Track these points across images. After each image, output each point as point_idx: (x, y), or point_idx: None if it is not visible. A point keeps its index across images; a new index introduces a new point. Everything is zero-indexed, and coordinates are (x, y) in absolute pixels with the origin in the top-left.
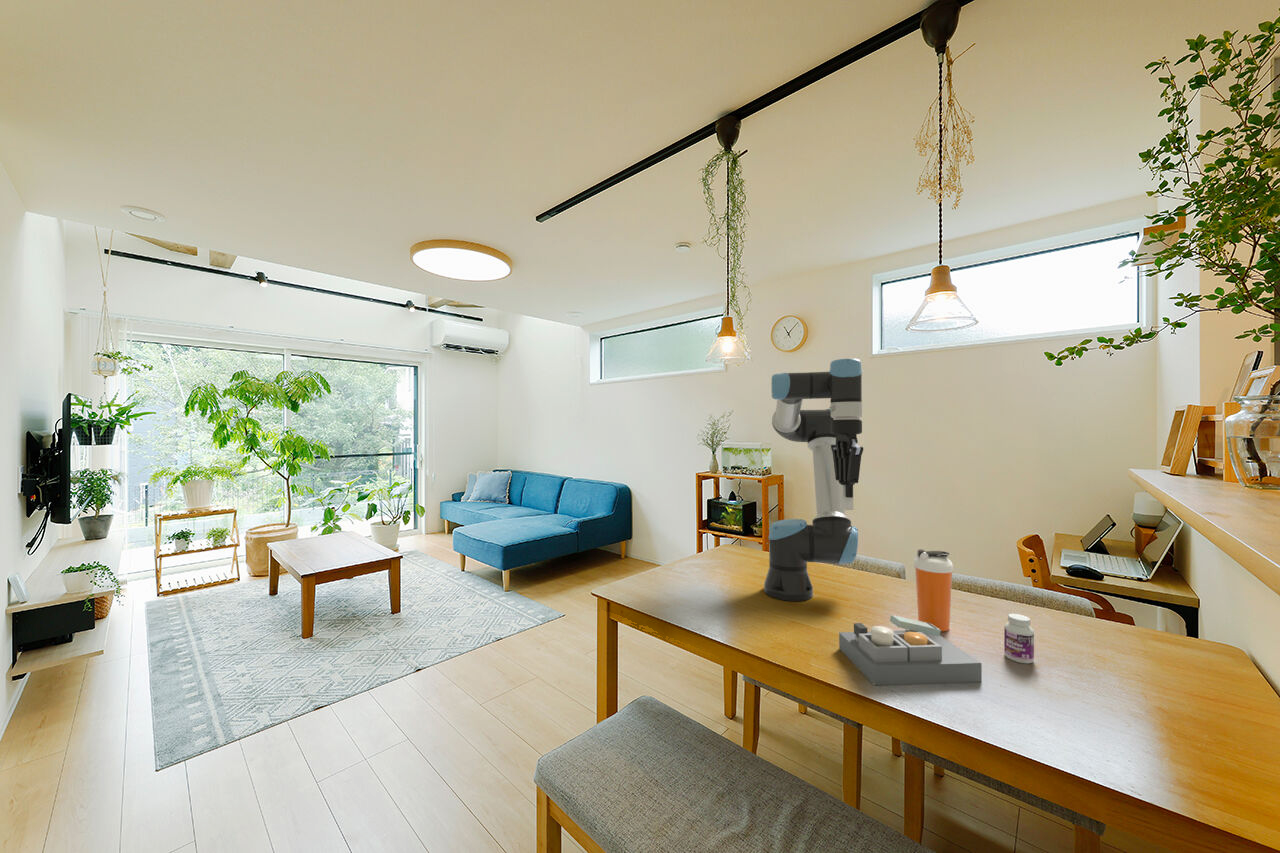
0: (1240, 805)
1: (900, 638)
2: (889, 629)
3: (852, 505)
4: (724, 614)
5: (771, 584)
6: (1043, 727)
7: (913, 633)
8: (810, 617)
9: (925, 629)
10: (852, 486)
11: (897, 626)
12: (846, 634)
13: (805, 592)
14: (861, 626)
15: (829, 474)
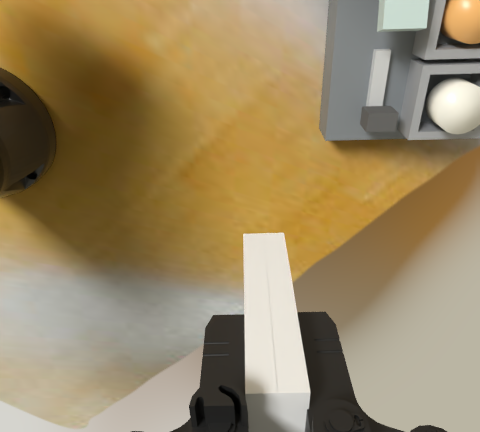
0: None
1: (458, 53)
2: (465, 89)
3: (285, 256)
4: (154, 285)
5: (16, 192)
6: None
7: (464, 10)
8: (157, 128)
9: None
10: (356, 402)
11: (415, 30)
12: (337, 129)
13: (30, 106)
14: (386, 122)
15: None
